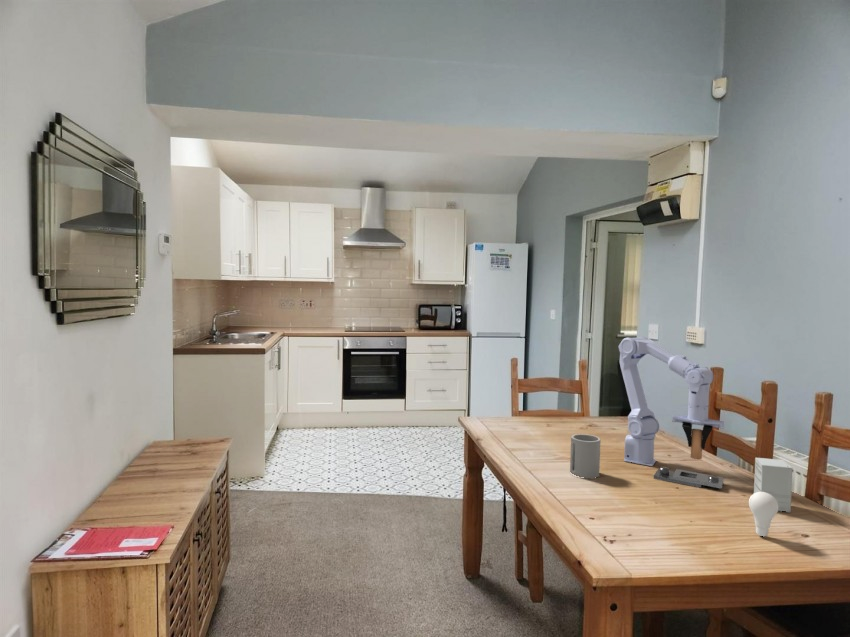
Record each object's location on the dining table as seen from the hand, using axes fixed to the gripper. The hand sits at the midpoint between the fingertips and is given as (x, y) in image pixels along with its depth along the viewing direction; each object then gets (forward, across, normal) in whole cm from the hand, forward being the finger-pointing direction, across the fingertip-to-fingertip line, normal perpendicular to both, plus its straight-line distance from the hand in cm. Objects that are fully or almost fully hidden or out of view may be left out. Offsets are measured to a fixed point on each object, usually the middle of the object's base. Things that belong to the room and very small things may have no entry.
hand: (696, 447), depth 167 cm
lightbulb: (+11, +18, -36) cm, 41 cm away
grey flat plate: (+10, -2, -4) cm, 11 cm away
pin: (+3, 0, 0) cm, 3 cm away
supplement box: (+11, +20, -12) cm, 26 cm away
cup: (+11, -31, -16) cm, 36 cm away
